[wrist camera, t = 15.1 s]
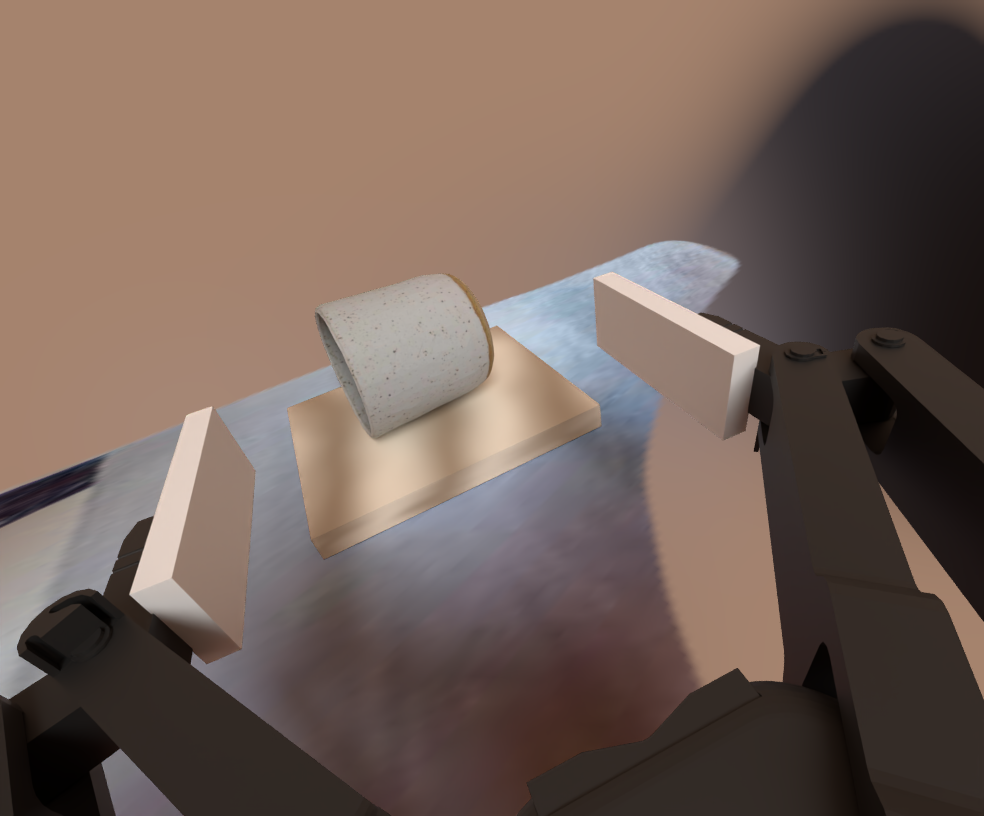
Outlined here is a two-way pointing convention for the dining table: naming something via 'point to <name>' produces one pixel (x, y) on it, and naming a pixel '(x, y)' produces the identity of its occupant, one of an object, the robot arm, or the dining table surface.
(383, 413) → the ceramic mug
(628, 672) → the dining table surface
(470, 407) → the birch board
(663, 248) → the dining table surface
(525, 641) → the dining table surface
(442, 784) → the dining table surface
